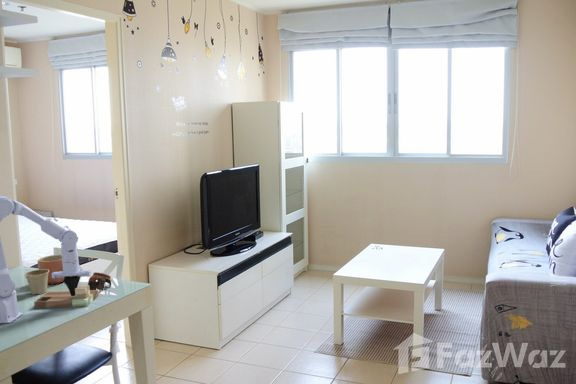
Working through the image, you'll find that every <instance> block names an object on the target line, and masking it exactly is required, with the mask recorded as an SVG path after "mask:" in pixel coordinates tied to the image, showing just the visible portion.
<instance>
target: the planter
mask: <svg viewBox="0 0 576 384" xmlns="http://www.w3.org/2000/svg"><path fill="white" fill-rule="evenodd" d="M40 269H46V270H49V273H48V282H47V285H56V284H61V283H64V282H63V280H64V277H59V278H52V273H53V272H60V271H63V264H62V254H51V255H46V256H43V257H40V258H37V270H40Z"/></svg>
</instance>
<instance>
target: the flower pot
mask: <svg viewBox="0 0 576 384" xmlns="http://www.w3.org/2000/svg"><path fill="white" fill-rule="evenodd" d="M48 273H49V270H46V269H40V270H39V269H35V270H34V269H33V270H30V271H27V272H26V273H24V277H25V279H26V281H27V285H28V287H29V290H30V294H31V295H42V294H46V293H47V292H48V284H47V282H48Z"/></svg>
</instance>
